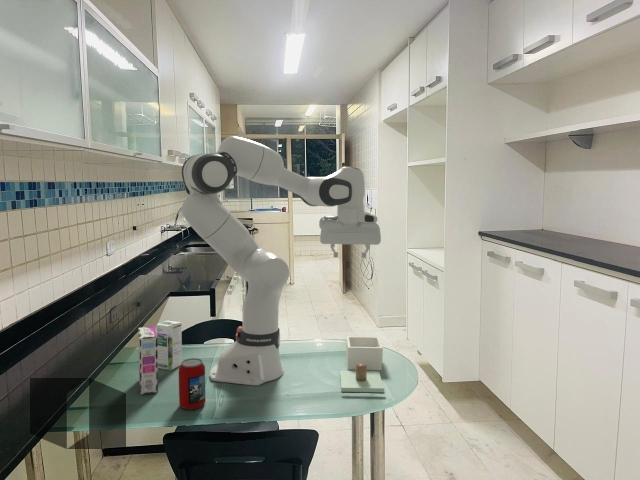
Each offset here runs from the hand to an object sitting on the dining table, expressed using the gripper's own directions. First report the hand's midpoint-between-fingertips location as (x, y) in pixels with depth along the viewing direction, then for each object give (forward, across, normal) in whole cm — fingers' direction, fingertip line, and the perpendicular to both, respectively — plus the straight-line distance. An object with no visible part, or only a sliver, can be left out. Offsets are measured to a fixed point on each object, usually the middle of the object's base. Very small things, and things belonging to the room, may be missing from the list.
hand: (349, 257), depth 153 cm
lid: (+35, +3, -22) cm, 42 cm away
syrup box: (+35, -58, -10) cm, 69 cm away
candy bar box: (+35, -59, -25) cm, 73 cm away
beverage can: (+35, -43, -36) cm, 66 cm away
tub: (+35, +5, -6) cm, 36 cm away
